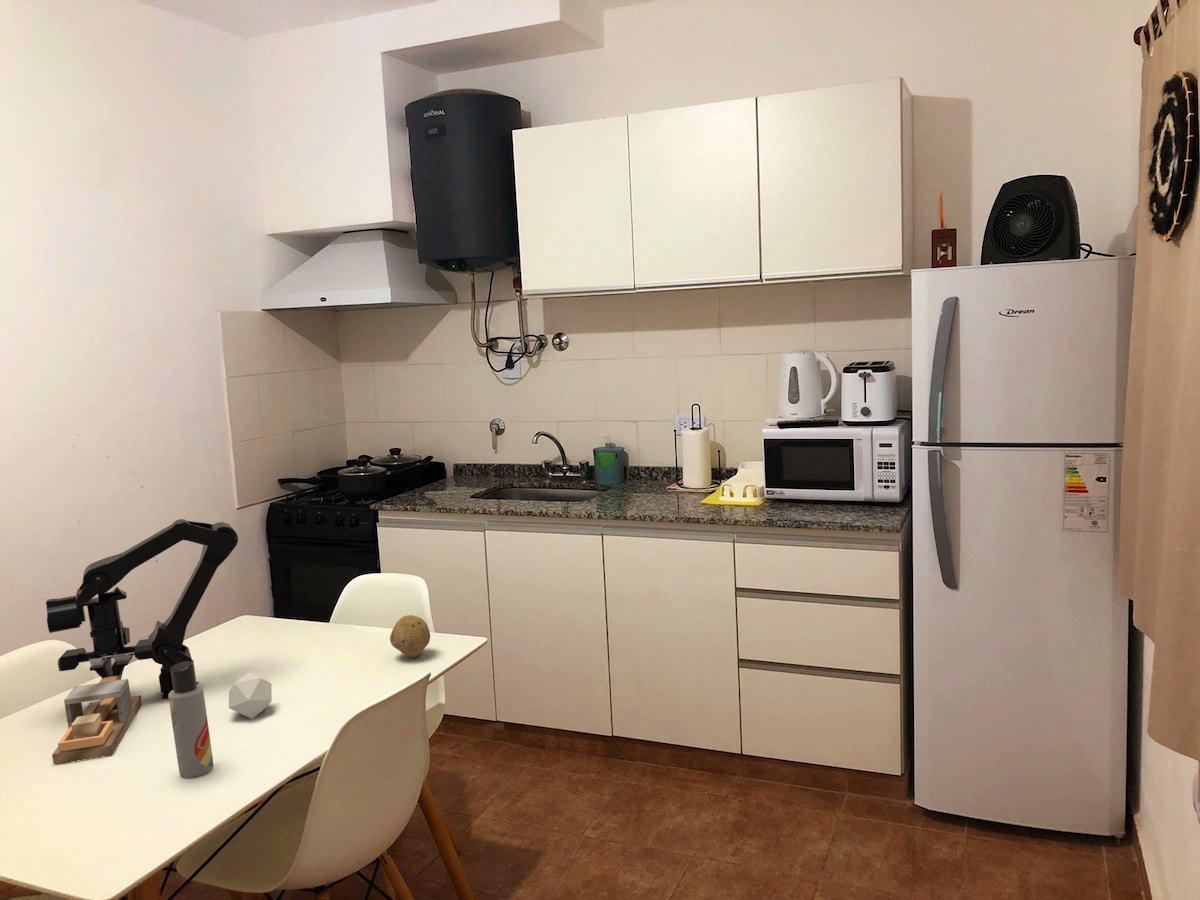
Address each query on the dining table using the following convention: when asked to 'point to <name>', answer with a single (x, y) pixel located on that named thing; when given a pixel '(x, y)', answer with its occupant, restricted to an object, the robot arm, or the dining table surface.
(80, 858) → the dining table surface
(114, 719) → the tunnel
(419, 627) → the brown round lump
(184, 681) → the lotion bottle
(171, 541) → the robot arm
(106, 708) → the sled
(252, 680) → the die
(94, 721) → the birch block
